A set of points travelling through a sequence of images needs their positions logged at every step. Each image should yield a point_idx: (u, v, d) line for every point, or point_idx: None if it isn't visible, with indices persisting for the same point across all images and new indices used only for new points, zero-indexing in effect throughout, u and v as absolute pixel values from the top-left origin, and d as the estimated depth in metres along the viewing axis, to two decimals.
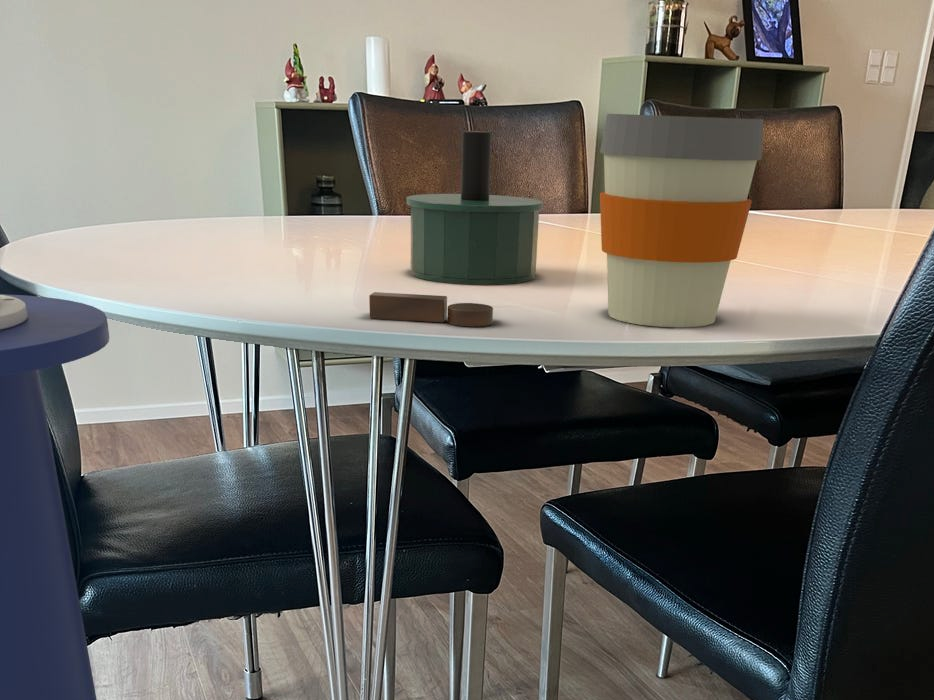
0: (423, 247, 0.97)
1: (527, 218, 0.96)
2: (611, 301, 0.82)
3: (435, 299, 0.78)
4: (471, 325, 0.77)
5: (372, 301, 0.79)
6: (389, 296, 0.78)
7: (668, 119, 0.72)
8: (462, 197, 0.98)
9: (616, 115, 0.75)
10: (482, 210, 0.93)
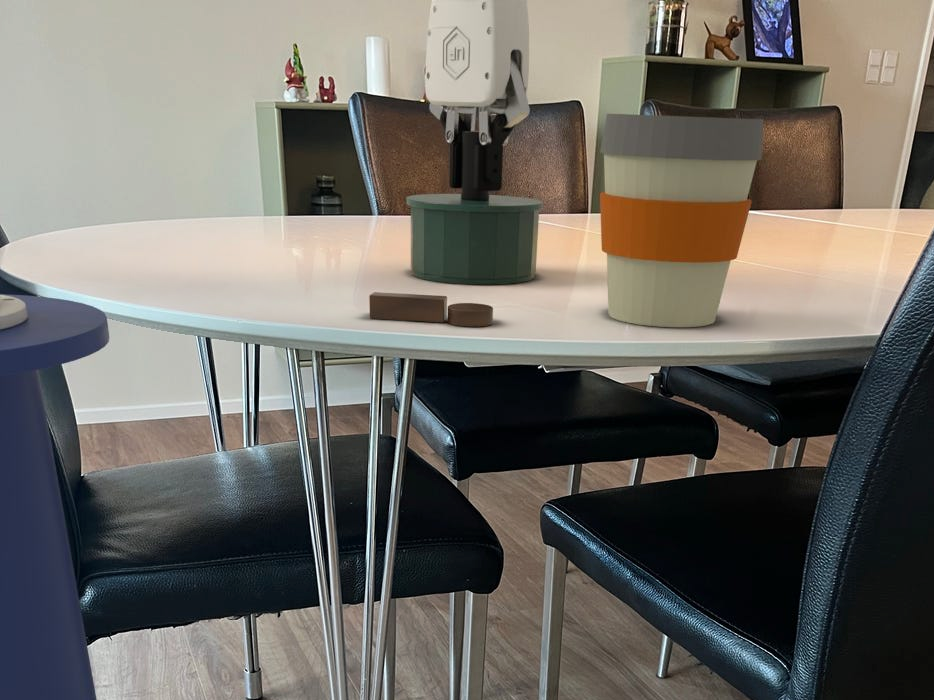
0: (423, 247, 0.97)
1: (527, 218, 0.96)
2: (611, 301, 0.82)
3: (435, 299, 0.78)
4: (471, 325, 0.77)
5: (372, 301, 0.79)
6: (389, 296, 0.78)
7: (668, 119, 0.72)
8: (462, 197, 0.98)
9: (616, 115, 0.75)
10: (482, 210, 0.93)
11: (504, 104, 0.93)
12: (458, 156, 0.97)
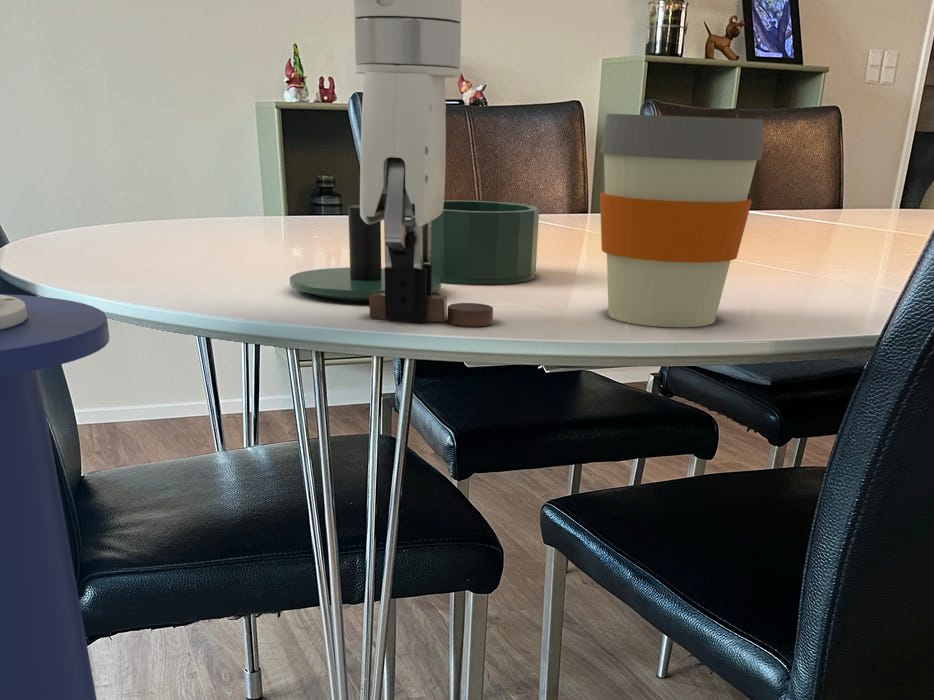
0: None
1: (527, 218, 0.96)
2: (611, 301, 0.82)
3: (435, 299, 0.78)
4: (471, 325, 0.77)
5: (372, 301, 0.79)
6: None
7: (668, 119, 0.72)
8: (351, 276, 0.89)
9: (616, 115, 0.75)
10: (366, 296, 0.84)
11: (415, 222, 0.74)
12: None
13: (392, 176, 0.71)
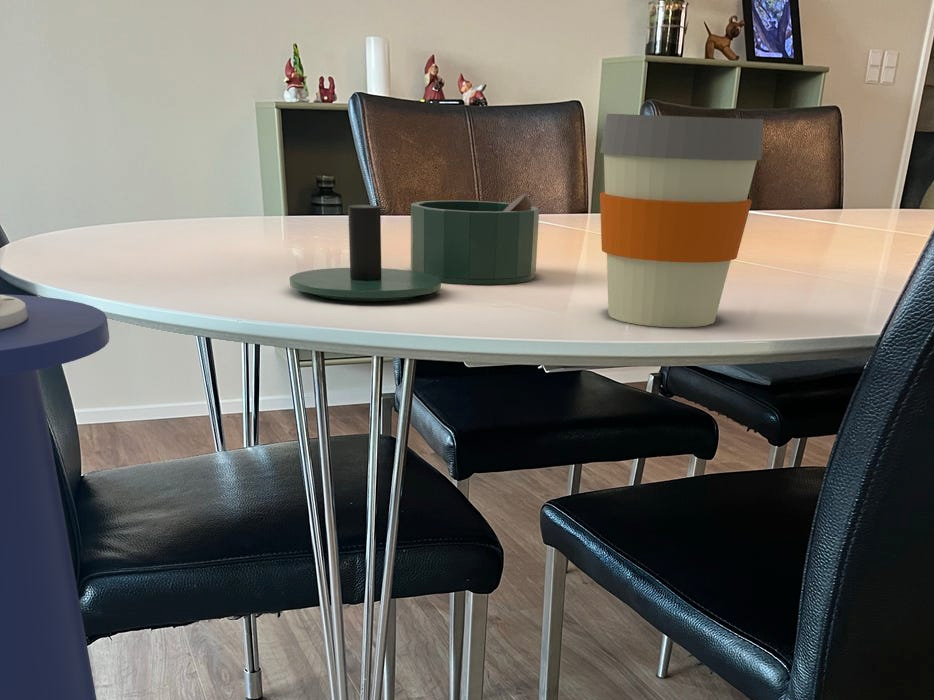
0: (423, 247, 0.97)
1: (527, 218, 0.96)
2: (611, 301, 0.82)
3: None
4: None
5: None
6: None
7: (668, 119, 0.72)
8: (351, 276, 0.89)
9: (616, 115, 0.75)
10: (366, 296, 0.84)
11: None
12: None
13: None
